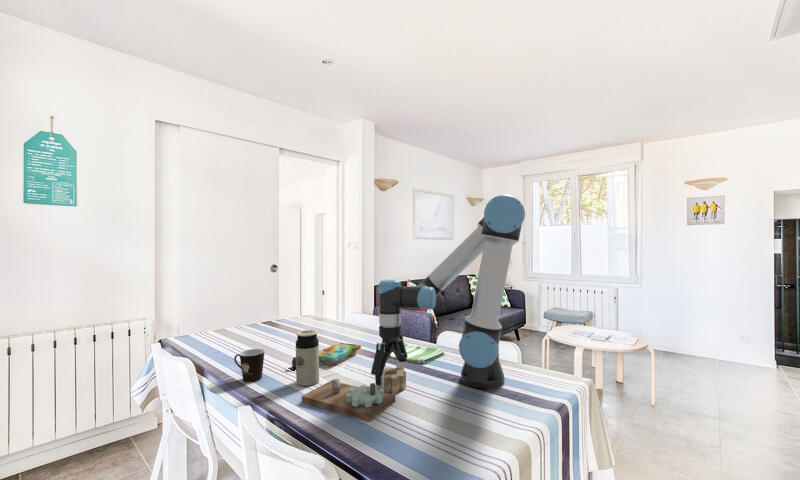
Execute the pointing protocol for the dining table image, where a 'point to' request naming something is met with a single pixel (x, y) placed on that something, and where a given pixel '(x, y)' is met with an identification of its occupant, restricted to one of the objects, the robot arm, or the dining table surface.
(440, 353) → the dish towel
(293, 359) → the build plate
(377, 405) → the gear board
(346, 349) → the puzzle game
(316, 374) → the travel mug
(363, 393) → the gear
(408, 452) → the dining table surface
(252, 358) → the coffee mug
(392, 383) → the beech gear
